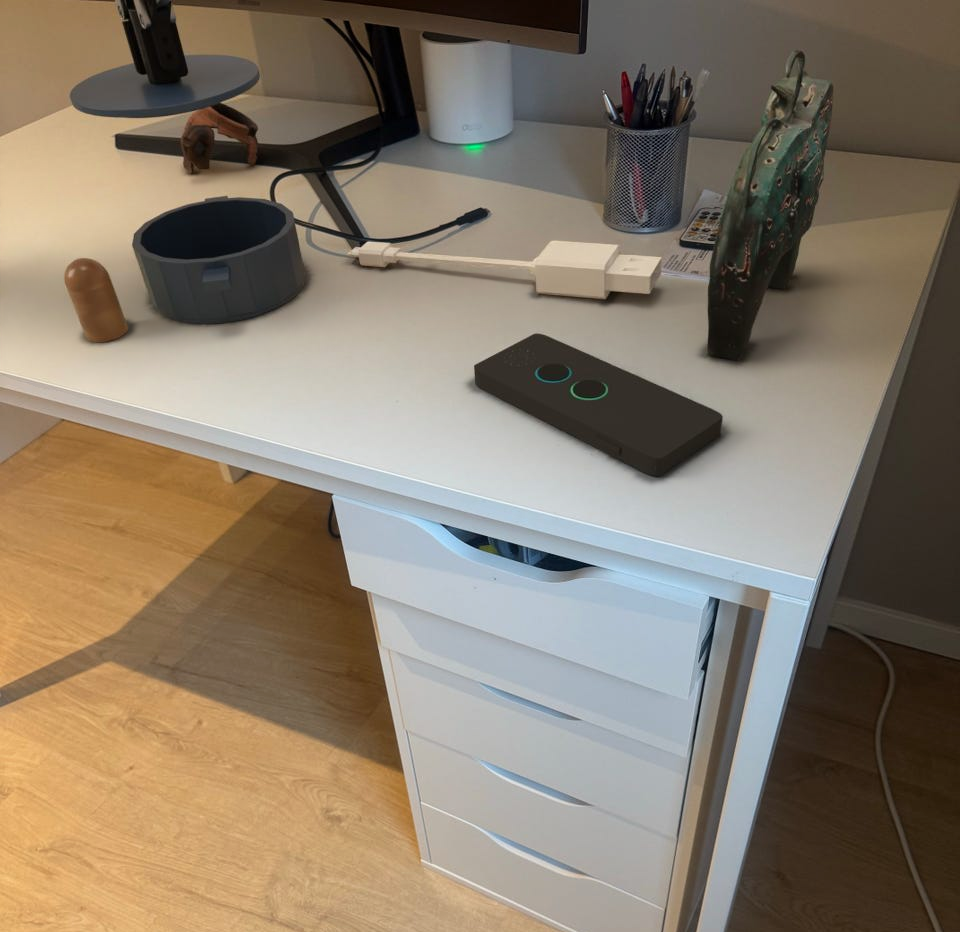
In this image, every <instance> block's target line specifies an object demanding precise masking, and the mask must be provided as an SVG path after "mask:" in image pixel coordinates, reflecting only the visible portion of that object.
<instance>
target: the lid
mask: <svg viewBox="0 0 960 932" xmlns="http://www.w3.org/2000/svg"><path fill="white" fill-rule="evenodd" d="M128 11H129V14H130V18H131V21H132V25H133V28H134V32H135V35H136V38H137V42H138V45H139V49H140V52H141V56H142V59H143V63H144V66H145V70H146V73H147V74H146V75H141V74H139V73H138V72H137V71H136V68H135V65H134V62H132V63H128V64H124V65H120V66H117V67H113V68H111V69H107V70H104V71H101V72H98V73H96V74H94V75H91V76H89V77H87V78H85V79H83V80H82V81H80V82H78V83H77V84H76V85H74V87H73V88H72V89H71V91H70V92H69V99H70V103H71V105H72V106H73V108H74V109H75V110H76V111H78V112H81V113H83V114H86V115H91V116H94V117H95V116H96V117H102V118H103V117H104V118H117V119H118V118H123V119H150V118H153V119H154V118H162V117H171V116H176V115H182V114H187V113H192V112H196V111H198V110H200V109H204V108H207V107H210V106H213V105H216V104H218V103H222V102H226V101H229V100H231V99H233V98H237V97H238V96H240V95H243V94H244V93H246V92H248V91H249V90H251V89H253V87H254V86H256V85H257V84H258V82H259V81H260V77H261V74H260V69H259V66H258V65H257V64H256V63H255V62H254V61H252V60H250V59H247V58H244V57H240V56H236V55H235V56H234V55H229V54H228V55H226V54H211V53H210V54H187V55H185V54H184V56H185V60H186V64H187V68H188V75H187V76H185V77H181V78H176V79H172V80H168V81H164V82H160V83H158V82H155V81H154V80H153V79H152V77H151V73H150V70H149V66H148V63H147V59H146V56H145V52H144V49H143V45H142V42H141V38H140V35H139V31H138V28H141V27H142V25H141V23H140V20H139V16H138V13H137V10H136V7H135V5H133V6H131V7H129V8H128Z"/></svg>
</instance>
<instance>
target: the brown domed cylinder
mask: <svg viewBox="0 0 960 932" xmlns="http://www.w3.org/2000/svg"><path fill="white" fill-rule="evenodd" d="M63 282H64V285H65V288H66V291H67V293H68V296H69V299H70V301H71V303H72V306H73V308H74V311H75V313H76V315H77V319H78V321H79V323H80V326H81V329H82V330H83V333H84V336H85V338H86V339H87V340H88V341H89V342H93V343H105V342H110V341H114V340H116V339H118V338H121V337H123V336H124V335H125V334H126V333H127V332H128V331H129V326H128V323H127V320H126V317H125V314H124V312H123V309H122V307H121V303H120V300H119V298H118V295H117V292H116V290H115V289H116V288H115V286H114V285H113V281H112V279H111V276H110V273H109V272H108V270H107V269H106V268H105V266H104V265H103V264H102V263H100V262H99V261H98V260H96V259H93V258H88V257H80V258H76V259H74V260H72V261H70V262H69V264H68V265H67V266H66V269H65V270H64V275H63Z"/></svg>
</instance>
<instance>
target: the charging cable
mask: <svg viewBox="0 0 960 932" xmlns="http://www.w3.org/2000/svg"><path fill="white" fill-rule="evenodd" d="M620 252H621V246H620V245H619V244H610V243H597V242H595V243H593V242H581V241H580V242H579V241H565V240H551V241H550V242H549V243H548V244H547V245H546V246H545V248H543V250H542V251H541V252H540V254H539V255H538V256H535V258H534V259H533V260H532V261H526V260H513V259H499V258H487V257H486V258H484V257H473V256H472V257H471V256H459V255H458V256H457V255H445V254H434V253H433V254H431V253H420V252H419V253H418V252H407V251H406V252H404V251H402V248H400V247H394V246H393V244H392V243H391V242H384V241H383V242H380V241H366V242H365V243H364V244H363V245H361V247H359V246H354V247H353V249H351V250H350V251H349V252H348V253H347V256H348V257H349V258H358V260H359V264H360V265H361V266H364V267H377V268H386V267H387V266H388V265H389V264H397V262H398V261H408V262H410V261H411V262H419V263H421V262H422V263H433V264H447V265H461V266H473V267H486V268H497V269H498V268H499V269H511V270H512V269H513V270H523V271H524V270H525V271H529V274H530V276H535V289H536V293H537V294H539V295H551V296H552V295H553V296H561V297H562V296H563V297H572V298H573V297H574V298H584V299H597V300H606V299H607V298H608V296H609V295H610V294H611V292H619V293H620V292H622V293H631V294H645V295H646V294H647V295H650V294H651V292H652V290H653V289H654V287H655V286H656V284H657V282H658V280H659V278H660V277H661V275H662V263H663V262H662V261H663V260H662V259H663V257H662V256H650V255H649V256H648V255H635V254H634V255H633V254H621V253H620Z"/></svg>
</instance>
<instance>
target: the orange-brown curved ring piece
mask: <svg viewBox="0 0 960 932" xmlns="http://www.w3.org/2000/svg"><path fill="white" fill-rule="evenodd" d="M214 129H216V131H217V134H218V135H221V136H225V137H227V138H229V139H235V140H237V141H238V142H239V143H242V144H246V145H247V159H246V161H247V164H249V165H250V166H254V165H255V164H256V161H257V159H258V155H257V156H256V153H257V147H258V145H259V140H258V137H257V133H258V131H259V127H258V125H257V123H256V122H254V121H253V119H251V118H250V117H249V116H247V115H246V114H244V113H242V112H241V111H239V110H237V109H235V108H234V107H232V106H229V105H227V104H225V103H222V102H221V103H218V104H216V105H213V106H210V107H207V108H204V109H200V110H196V111H194V112H193V113H192V114H191V115H190V116H189V117H188V119H187V122H186V123H185V126H184V129H183V130H184V131H183V133H182V135H181V137H180V149H181V151H182V153H183V158H182V159H183V161H182V165H183V168H184V169H185V170H186V171H187V172H188V173H190V174H192V175H194V174H195V168H196V169H197V170H199V171H204V170H210V168H211V153H212V151H213V146H214V145H215V141H216V139H215V130H214ZM257 154H258V153H257Z"/></svg>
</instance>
